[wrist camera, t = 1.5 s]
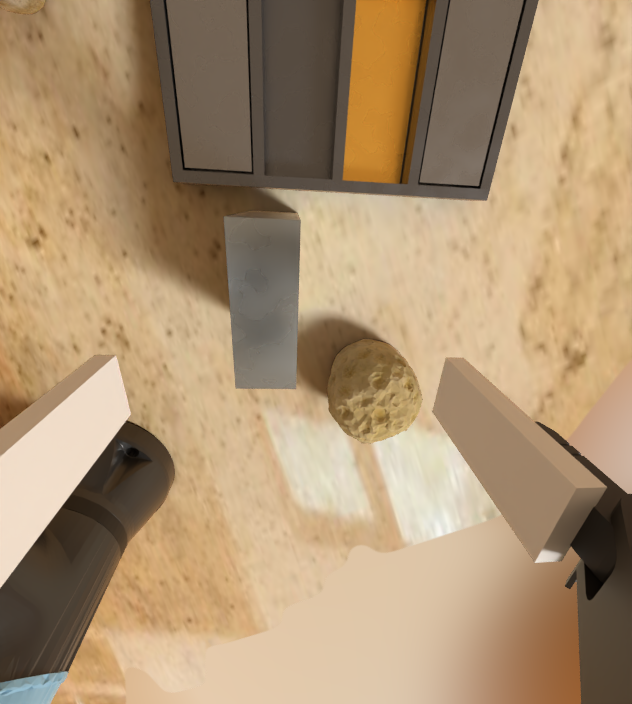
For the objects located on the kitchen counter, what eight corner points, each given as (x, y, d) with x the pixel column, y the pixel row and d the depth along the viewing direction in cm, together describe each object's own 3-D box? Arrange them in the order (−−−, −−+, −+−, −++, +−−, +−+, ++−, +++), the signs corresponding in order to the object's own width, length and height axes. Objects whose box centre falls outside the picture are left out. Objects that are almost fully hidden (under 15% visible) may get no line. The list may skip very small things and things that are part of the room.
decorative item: (337, 329, 36) (290, 383, 30) (421, 322, 30) (384, 389, 24) (362, 391, 41) (325, 451, 34) (440, 396, 34) (413, 470, 28)
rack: (183, 183, 26) (169, 181, 23) (154, -71, 20) (129, -118, 17) (471, 200, 28) (492, 200, 25) (524, -25, 22) (561, -61, 19)
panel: (255, 324, 32) (235, 388, 21) (250, 210, 27) (223, 216, 16) (294, 325, 32) (295, 388, 21) (297, 212, 27) (300, 220, 17)
